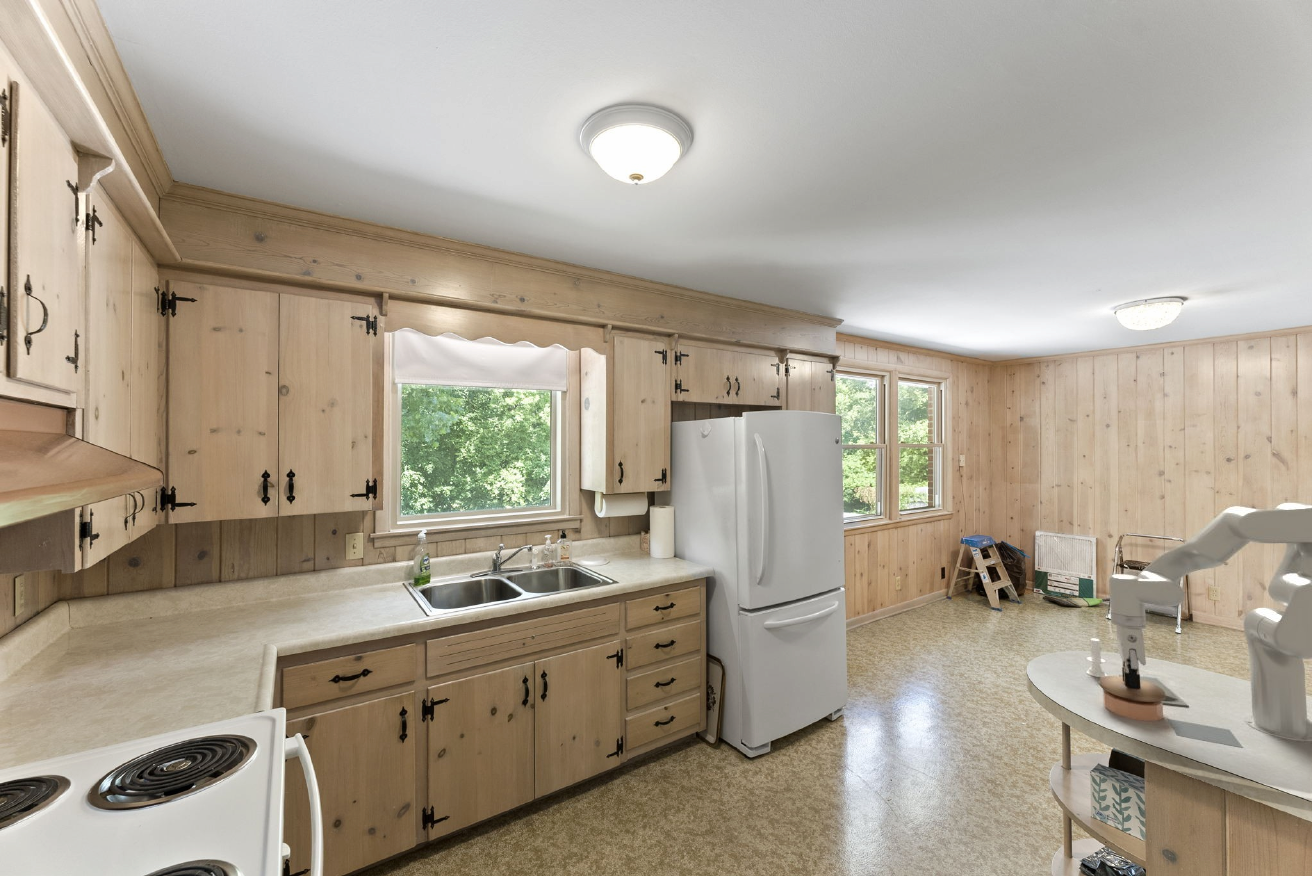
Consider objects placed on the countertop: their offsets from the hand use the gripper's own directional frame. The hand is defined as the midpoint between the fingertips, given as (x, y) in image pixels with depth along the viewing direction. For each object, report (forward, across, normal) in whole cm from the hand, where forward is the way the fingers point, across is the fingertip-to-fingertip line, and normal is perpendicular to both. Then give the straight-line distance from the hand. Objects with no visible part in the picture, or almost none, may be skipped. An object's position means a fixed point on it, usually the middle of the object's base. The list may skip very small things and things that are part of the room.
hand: (1131, 684), depth 155 cm
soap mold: (+9, +18, -7) cm, 22 cm away
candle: (+8, +28, +5) cm, 30 cm away
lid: (+2, 0, 0) cm, 2 cm away
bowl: (+8, 0, 0) cm, 8 cm away
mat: (+8, -7, -13) cm, 17 cm away
